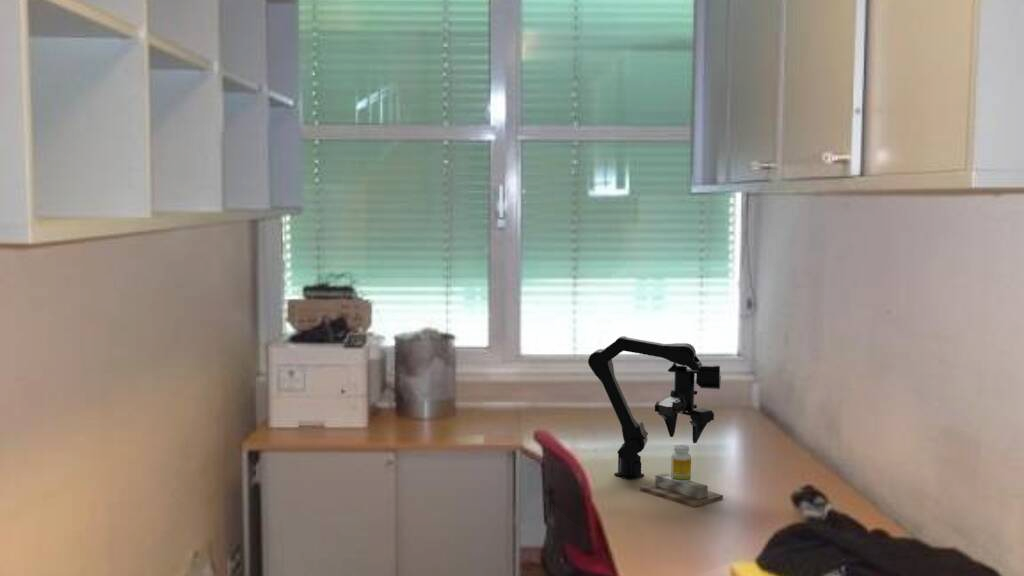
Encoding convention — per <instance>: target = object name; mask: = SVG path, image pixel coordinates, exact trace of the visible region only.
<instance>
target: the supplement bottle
mask: <svg viewBox="0 0 1024 576" xmlns="http://www.w3.org/2000/svg"><path fill="white" fill-rule="evenodd" d="M673 451H674V452H673V453H672V455H671V465H670V466H671V468H670V469H671V471H670V473H671V474H670V475H671V479H672V480H673V481H675V482H680V483H685V482H689V481H691V477H692V476H691V473H692V472H691V470H692V469H691V468H692V456H691V454H690V453H689V452H690V446H688V445H685V444H677V445H674V447H673Z"/></svg>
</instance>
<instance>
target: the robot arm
mask: <svg viewBox="0 0 1024 576" xmlns="http://www.w3.org/2000/svg"><path fill="white" fill-rule="evenodd" d="M696 351H697V350H696V348H695V347H694V346H693V344H690V343H688V342H687V343H686V342H683V343H682V342H681V343H679V342H677V343H661V342H655V341H651V340H650V341H649V340H643V339H637V338H632V337H628V336H625V335H624V336H623V335H622V336H619V337H618V338H617V339H616V340H615V341H614V342H613V343H611V344H610V345H608V346H607V347H605V348H599V349H596V350H595V351H594V352H592V353H591V354H590V355H589V357H588V360H587V363H588V366H589V369H591V371H592V372H593V373H594V375H595V376H596V378H597V379H598V380H599V381H600V382H601V383H602V384H601V385H603V388H604V390H605V392H606V395H607V397H608V399H609V401H610V404H611V406H612V408H613V410H614V412H615V414H616V417H617V419H618V421H619V424H620V426H621V431H622V432H621V433H622V437H623V442H624V443H622V445H621V446H620V447H619V449H618V450H617V455H618V457H617V458H618V459H617V461H618V462H617V463H618V465H617V472H614V476H617V477H620V478H623V479H627V480H633V479H636V478H640V477H644V476H645V474H644V473H642V462H641V459H642V458H641V456H640V454H639V453H641V452H642V451H643V450H644V448H645V447H646V445H647V443H648V435H649V433H648V432H647V430H646V429H645V425H644V423H643V421H641V422H640V423H639V422H638V421H637V420H636V419H635V418H634V416H633V413H632V411H631V409H630V407H629V405H628V402H627V400H626V398H625V396H624V394H623V392H622V389H621V387H620V385H619V382H618V380H617V378H616V376H615V369H614V363H613V359H614V358H615V357H617V356H619V354H621V353H622V352H627V353H633V354H634V353H635V354H639V355H644V356H645V355H647V356H652V357H657V358H662V359H664V360H667V361H669V362H671V363H673V364H672V365H671V366H669V368H668V370H667V372H668V373H674V389H672V390H671V391H670V396H669V397H666V398H665V399H663V400H660V401H656V403H655V404H654V412H657V415H658V416H661V418H662V419H663V420H664V422H665V425H666V428H667V432H668V434H669V437H670V438H673V437H674V436H675V433H676V425H677V421H678V420H677V419H678V415H679V414H682V415H685V416H689V418H690V420H689V423H690V424H691V426H692V444H697V443H698V441H699V439H700V437H701V436H702V433H703V431H704V429H705V428H706V426H707V424H710V423H711V421H715V413H714V412H713V410H711V409H709V408H708V409H707V408H699V409H697V407H698V404H695V395H698V390H695V382H696V385H697V386H698V387H699V388H700V389H707V390H720V389H721V383H722V382H721V381H722V375H721V366H720V365H718V364H717V365H716V364H715V365H703V363H702V362H701V360H700V359H699V358H698V356H697V352H696ZM695 375H696V377H695ZM695 379H696V381H695Z"/></svg>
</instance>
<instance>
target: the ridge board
mask: <svg viewBox="0 0 1024 576" xmlns="http://www.w3.org/2000/svg"><path fill="white" fill-rule="evenodd" d="M654 480H655V482H651V483H648V484H644V485H640V486H639V490H640V491H642V492H644V493H648V494H652V495H654V496H657V497H660V498H663V499H668V500H671V501H673V502H677V503H680V504H683V505H686V506H688V507H693V508H696V507H699V506H700V507H701V506H703V505H706V504H710V503H713V502H717V501H720V500H723V499H724V495H723V494H721V493H717V492H714V491H710V490H708V489H709V486H708V485H707V484H703V483H700V482H697V481H694V480H693V481H692V480H690V481H689V482H685V483H680V482H675V481H673V480H672V479H671V474H669V473H666V472H663V473H659V474H655V479H654Z"/></svg>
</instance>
